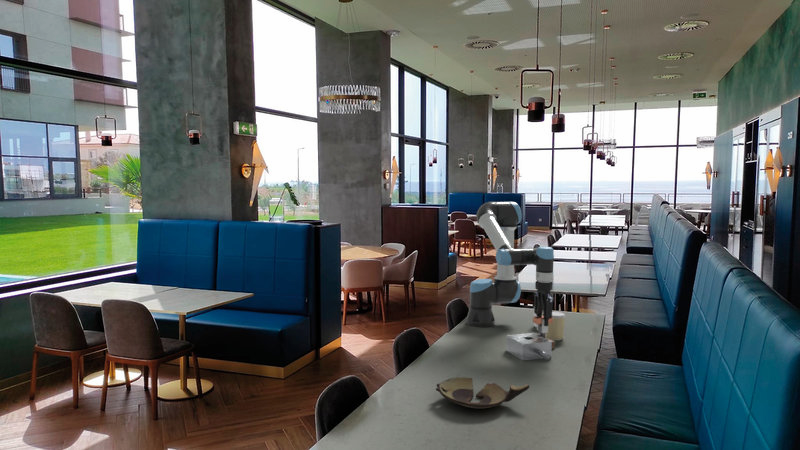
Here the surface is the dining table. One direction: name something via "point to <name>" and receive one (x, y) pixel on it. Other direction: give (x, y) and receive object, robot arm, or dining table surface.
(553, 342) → the wooden square frame
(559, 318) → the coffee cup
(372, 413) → the dining table surface
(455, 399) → the brown curved dish
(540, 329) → the block
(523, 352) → the block
